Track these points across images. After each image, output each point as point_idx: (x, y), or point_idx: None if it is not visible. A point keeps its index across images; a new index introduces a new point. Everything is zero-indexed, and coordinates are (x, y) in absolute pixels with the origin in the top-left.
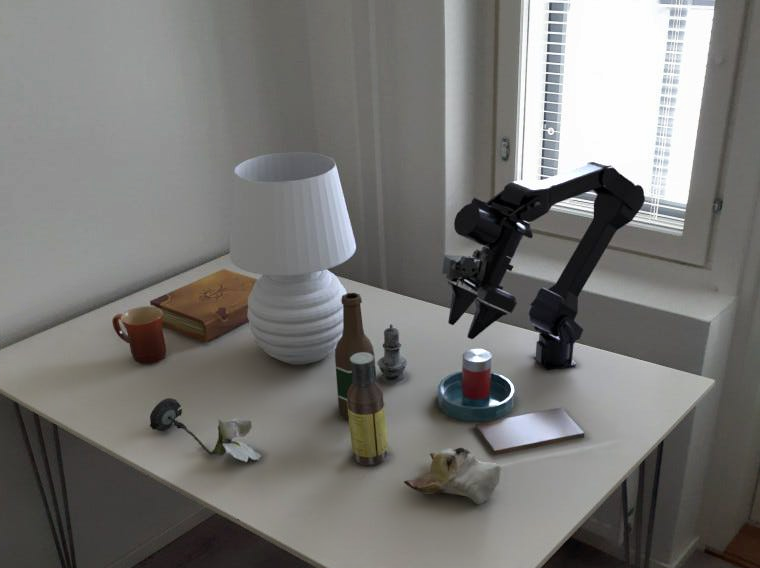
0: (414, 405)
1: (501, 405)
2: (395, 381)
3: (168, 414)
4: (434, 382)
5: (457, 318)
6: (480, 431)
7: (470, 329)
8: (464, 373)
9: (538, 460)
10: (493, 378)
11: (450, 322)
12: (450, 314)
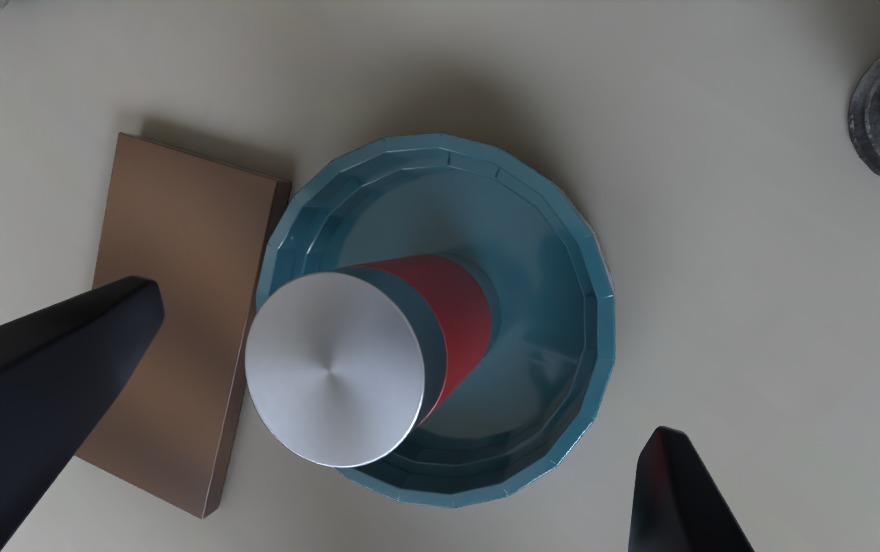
0: (594, 65)
1: None
2: (871, 89)
3: None
4: (722, 278)
5: (636, 546)
6: (229, 165)
7: (62, 313)
8: (380, 262)
9: (66, 243)
10: (483, 477)
11: (657, 445)
12: (698, 510)
